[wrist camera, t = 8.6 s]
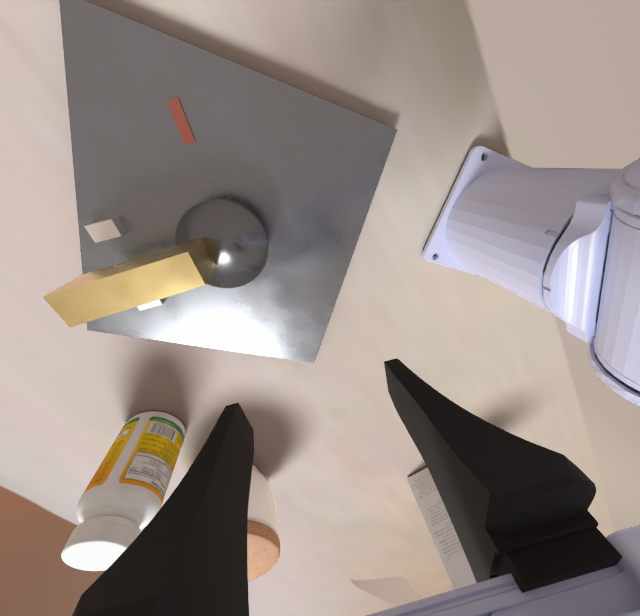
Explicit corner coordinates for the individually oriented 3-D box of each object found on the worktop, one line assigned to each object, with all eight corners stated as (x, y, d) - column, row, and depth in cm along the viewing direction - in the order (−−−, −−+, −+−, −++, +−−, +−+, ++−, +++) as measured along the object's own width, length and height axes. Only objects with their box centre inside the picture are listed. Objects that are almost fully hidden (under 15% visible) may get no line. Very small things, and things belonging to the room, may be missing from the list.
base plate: (392, 131, 17) (406, 126, 15) (312, 357, 24) (315, 373, 22) (70, -1, 12) (34, -30, 11) (94, 324, 20) (75, 340, 18)
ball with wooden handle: (249, 186, 15) (241, 192, 12) (280, 269, 18) (280, 294, 14) (70, 242, 15) (13, 264, 12) (126, 317, 18) (92, 352, 14)
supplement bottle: (181, 406, 25) (132, 530, 16) (190, 444, 27) (153, 568, 19) (116, 411, 24) (31, 543, 16) (132, 449, 27) (66, 581, 18)
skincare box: (418, 489, 38) (472, 612, 28) (405, 477, 36) (458, 605, 26) (456, 469, 37) (528, 589, 26) (445, 455, 35) (518, 579, 25)
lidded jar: (295, 456, 31) (302, 563, 22) (255, 507, 34) (249, 615, 26) (200, 435, 27) (167, 553, 19) (167, 495, 31) (127, 615, 22)
